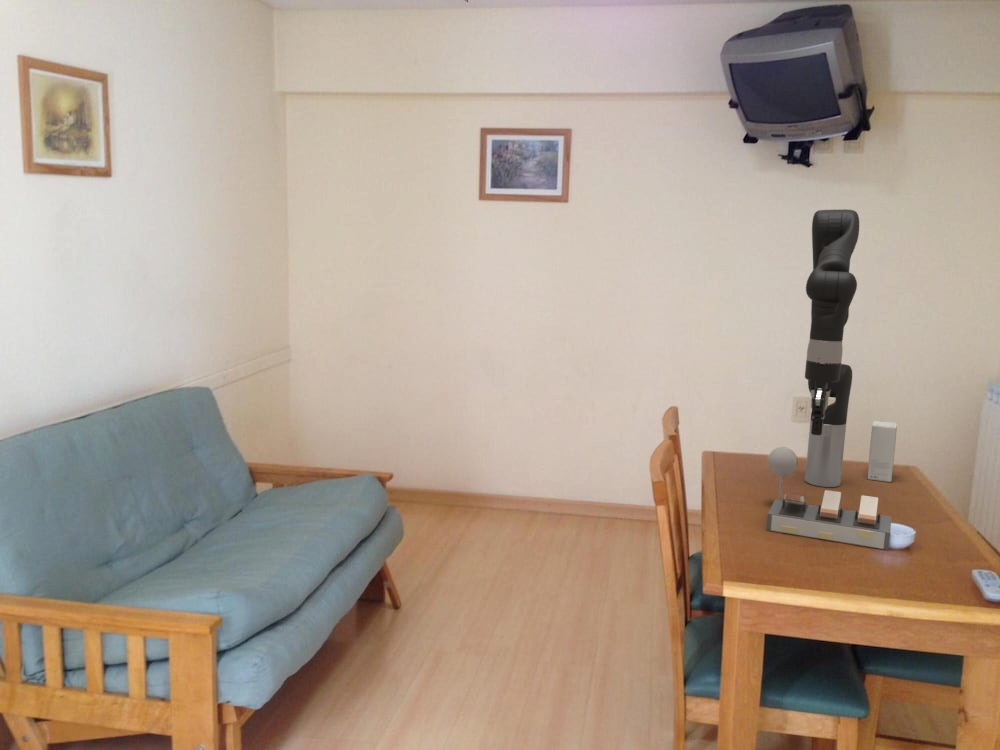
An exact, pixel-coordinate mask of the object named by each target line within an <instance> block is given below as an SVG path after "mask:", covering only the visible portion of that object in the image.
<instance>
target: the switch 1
mask: <svg viewBox="0 0 1000 750" xmlns="http://www.w3.org/2000/svg"><path fill="white" fill-rule="evenodd" d="M784 499H785V501H788V502H795V503H802V504H804V502H805V497H804V496H802V495H798V494H797V495H796V494H791V493H785V494H784Z"/></svg>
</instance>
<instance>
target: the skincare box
mask: <svg viewBox="0 0 1000 750" xmlns="http://www.w3.org/2000/svg"><path fill="white" fill-rule="evenodd" d="M897 428H898V423H897V422H892V421H891V422H889V421H888V422H887V421H878V420H877V421H876V420H873V422H872V426H871V432H870V443H869V453H868V467H867V469H868V470H867V479H868V480H870V481H871V480H872V481H878V482H886V483H887V482H888V483H892V479H893V472H894V471H893V470H894V463H895V452H896V441H897V433H898V432H897V431H898V430H897Z"/></svg>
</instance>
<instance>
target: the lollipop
mask: <svg viewBox="0 0 1000 750" xmlns="http://www.w3.org/2000/svg"><path fill="white" fill-rule="evenodd" d="M798 463H799V462H798V456H797V454H796V453H795V452H794V450H792V449H791V448H789V447H785V446H780V447H776V448H774V449H772V451H771V452H770V453H769V454H768V456H767V464H768V468H769V469H770V470H771V472H773V474H775V475H778V476H779V485H778V495H777V496H778V497H777V500H781V501H782V492H783V491H782V489H783V479H784V476H788V475H789V476H790V475H791V474H793V473H794V472H795V471H796V469H797V467H798Z"/></svg>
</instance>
